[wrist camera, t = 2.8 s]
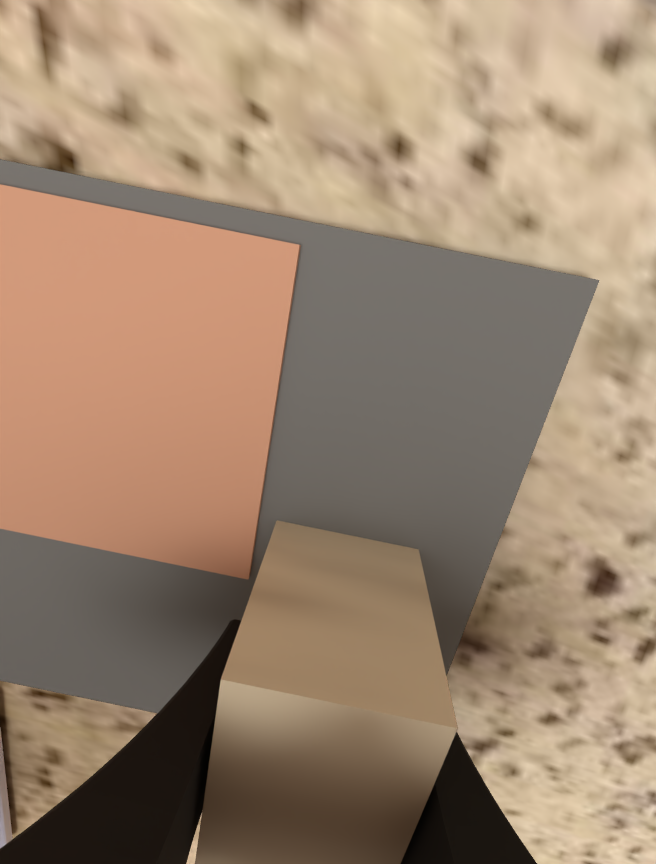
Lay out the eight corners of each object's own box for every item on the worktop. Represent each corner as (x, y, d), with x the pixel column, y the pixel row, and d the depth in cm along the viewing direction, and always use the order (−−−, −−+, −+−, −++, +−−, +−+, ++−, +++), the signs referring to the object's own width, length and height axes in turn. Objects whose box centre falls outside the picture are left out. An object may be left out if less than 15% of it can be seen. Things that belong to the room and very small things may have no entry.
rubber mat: (410, 753, 15) (412, 772, 14) (-33, 662, 15) (-48, 676, 14) (589, 280, 10) (604, 280, 9) (-105, 140, 10) (-134, 131, 9)
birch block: (364, 724, 14) (366, 945, 9) (245, 699, 14) (188, 908, 9) (418, 549, 12) (457, 727, 7) (277, 520, 12) (221, 678, 7)
